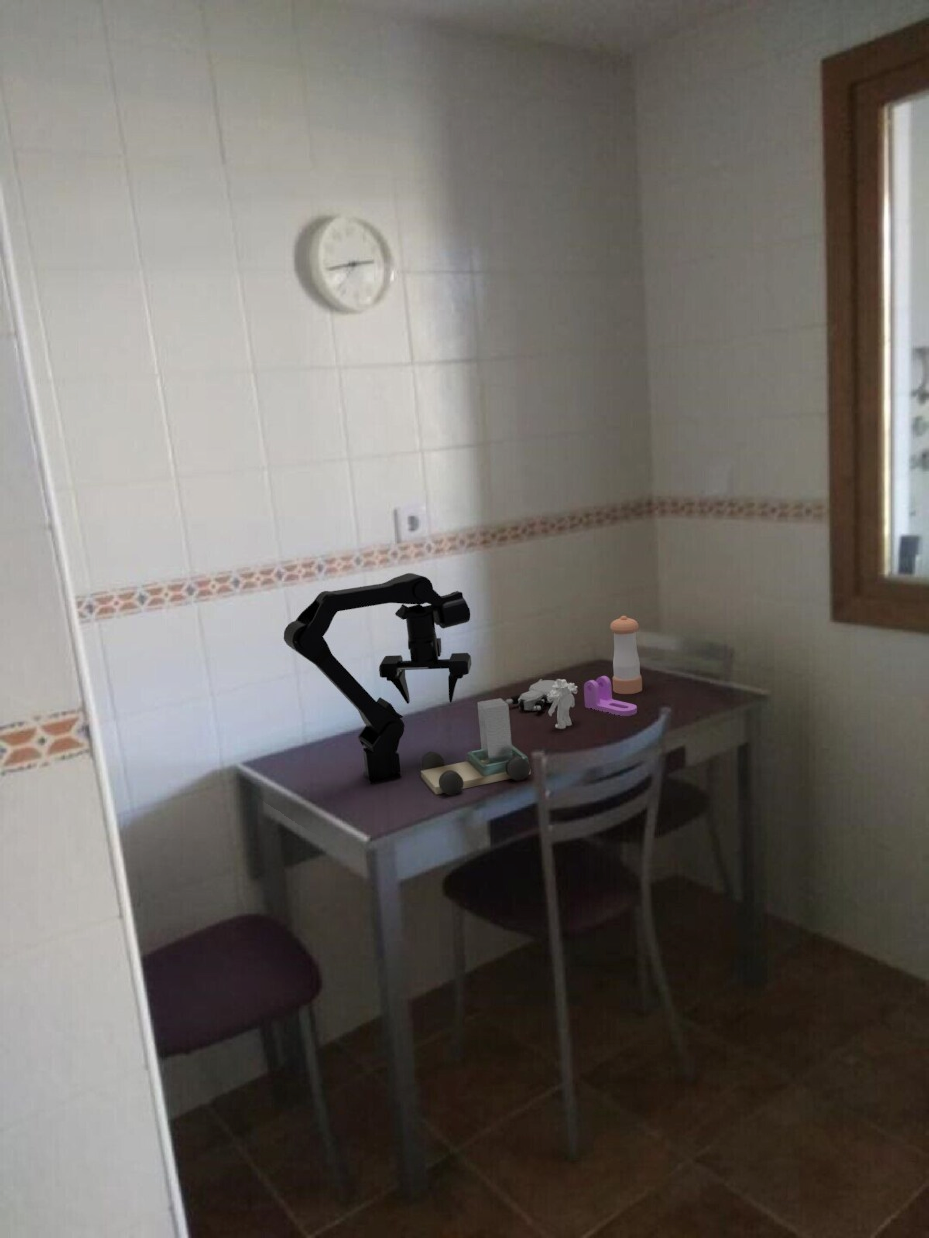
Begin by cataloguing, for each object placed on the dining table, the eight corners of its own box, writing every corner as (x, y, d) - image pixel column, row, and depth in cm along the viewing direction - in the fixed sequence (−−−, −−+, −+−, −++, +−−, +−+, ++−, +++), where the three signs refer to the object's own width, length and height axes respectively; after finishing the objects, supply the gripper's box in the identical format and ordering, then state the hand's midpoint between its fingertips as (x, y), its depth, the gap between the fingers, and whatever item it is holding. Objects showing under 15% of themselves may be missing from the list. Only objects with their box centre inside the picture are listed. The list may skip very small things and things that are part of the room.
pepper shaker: (611, 694, 238) (606, 619, 234) (615, 685, 245) (611, 613, 241) (640, 694, 236) (636, 619, 232) (643, 685, 243) (640, 612, 239)
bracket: (585, 707, 230) (583, 680, 228) (601, 701, 233) (599, 674, 232) (625, 718, 220) (624, 689, 218) (641, 711, 223) (640, 683, 222)
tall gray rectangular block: (489, 770, 191) (484, 708, 188) (482, 762, 196) (477, 702, 193) (513, 766, 192) (508, 704, 189) (505, 758, 197) (500, 698, 194)
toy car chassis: (439, 798, 183) (436, 776, 182) (418, 774, 196) (416, 754, 195) (534, 777, 189) (532, 756, 188) (508, 755, 202) (507, 736, 201)
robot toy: (540, 721, 226) (581, 700, 235) (537, 703, 224) (578, 683, 234) (503, 712, 235) (544, 692, 244) (501, 695, 233) (542, 675, 243)
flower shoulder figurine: (557, 733, 214) (554, 681, 211) (544, 729, 216) (540, 679, 214) (583, 721, 220) (580, 671, 217) (570, 718, 222) (566, 669, 220)
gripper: (471, 618, 203) (477, 685, 208) (385, 621, 205) (394, 687, 211) (464, 637, 192) (471, 707, 197) (374, 640, 195) (383, 709, 200)
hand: (429, 702), depth 202 cm, fingers open, 9 cm apart
